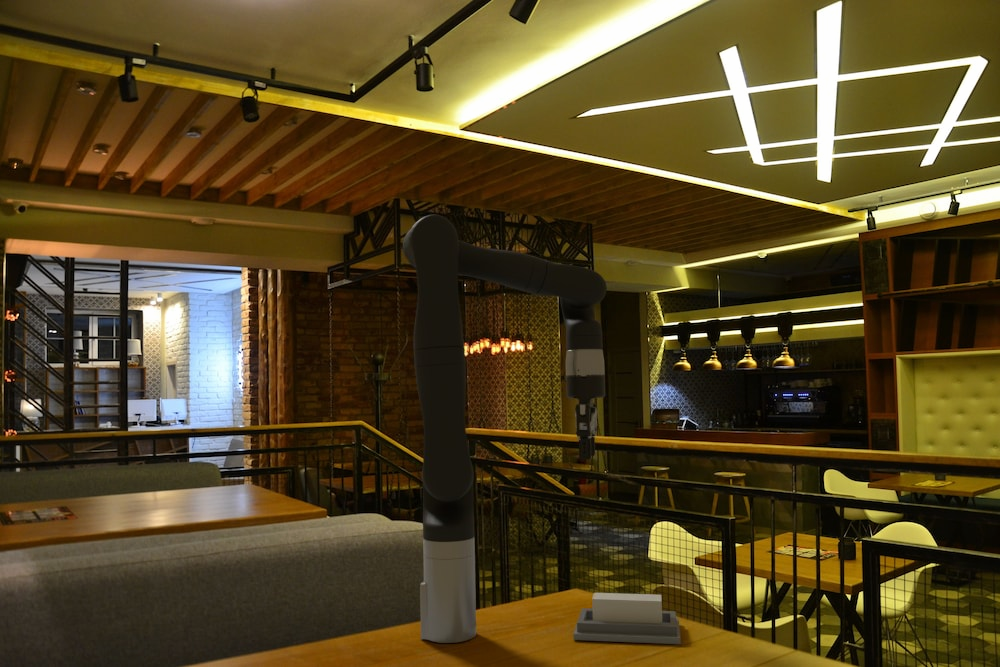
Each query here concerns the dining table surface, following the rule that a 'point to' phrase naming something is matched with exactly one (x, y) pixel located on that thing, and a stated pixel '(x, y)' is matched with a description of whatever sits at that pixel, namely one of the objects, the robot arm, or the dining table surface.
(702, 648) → the dining table surface
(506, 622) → the dining table surface
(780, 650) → the dining table surface
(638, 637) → the cradle
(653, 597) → the off-white tapered block
